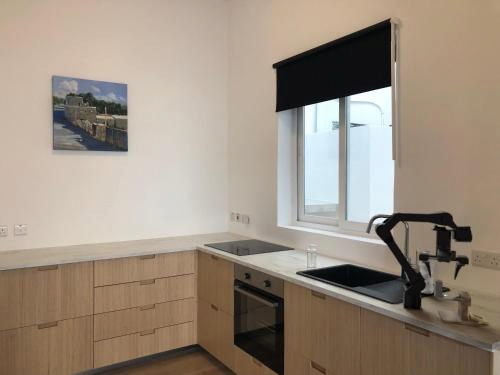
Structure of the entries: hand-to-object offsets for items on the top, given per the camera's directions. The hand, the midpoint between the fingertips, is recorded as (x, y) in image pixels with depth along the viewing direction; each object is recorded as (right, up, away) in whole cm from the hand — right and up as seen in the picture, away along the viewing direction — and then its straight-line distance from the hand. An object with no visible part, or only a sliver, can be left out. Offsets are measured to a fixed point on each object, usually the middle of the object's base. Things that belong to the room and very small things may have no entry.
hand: (442, 278), depth 171 cm
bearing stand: (+1, -14, -11) cm, 17 cm away
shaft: (-2, -6, -10) cm, 12 cm away
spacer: (+5, -12, -12) cm, 17 cm away
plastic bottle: (+3, -12, +23) cm, 27 cm away
